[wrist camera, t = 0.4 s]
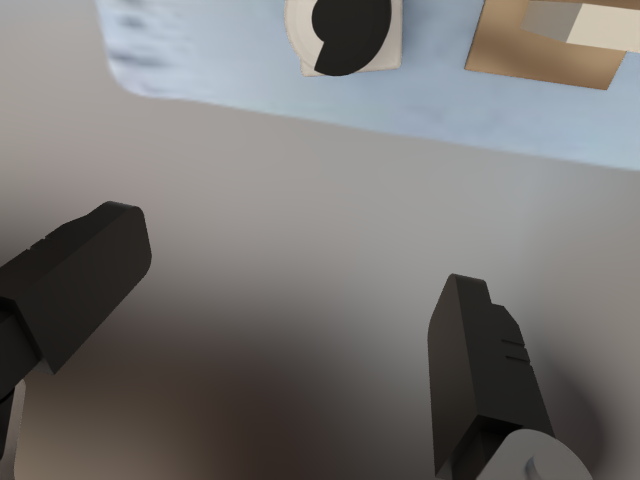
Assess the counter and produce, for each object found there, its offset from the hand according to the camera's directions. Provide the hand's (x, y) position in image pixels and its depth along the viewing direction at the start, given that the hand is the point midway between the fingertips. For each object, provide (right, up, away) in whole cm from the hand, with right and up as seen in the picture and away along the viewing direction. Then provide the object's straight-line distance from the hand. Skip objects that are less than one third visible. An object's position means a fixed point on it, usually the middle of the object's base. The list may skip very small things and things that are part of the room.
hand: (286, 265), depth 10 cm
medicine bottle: (+4, +19, +20) cm, 28 cm away
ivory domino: (+19, +17, +18) cm, 31 cm away
